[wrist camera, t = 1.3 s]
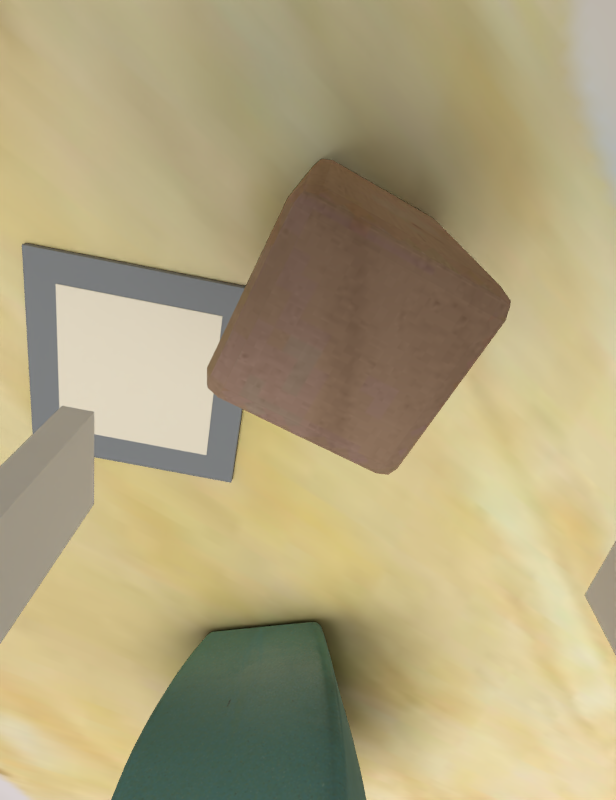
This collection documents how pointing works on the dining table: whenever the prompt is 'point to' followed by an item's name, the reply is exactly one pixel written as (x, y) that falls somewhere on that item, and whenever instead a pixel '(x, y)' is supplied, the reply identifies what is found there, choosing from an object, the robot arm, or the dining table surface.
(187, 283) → the mat
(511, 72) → the dining table surface
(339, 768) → the flower pot
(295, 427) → the wooden block
